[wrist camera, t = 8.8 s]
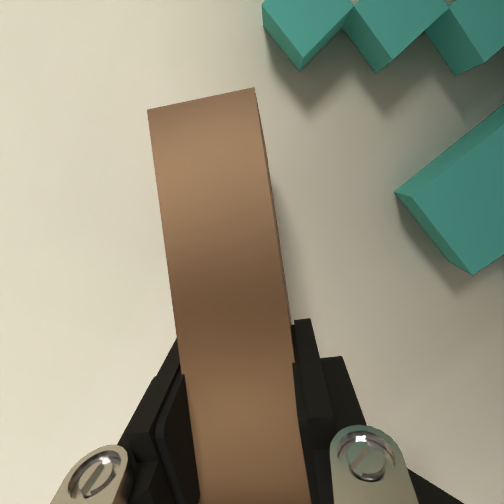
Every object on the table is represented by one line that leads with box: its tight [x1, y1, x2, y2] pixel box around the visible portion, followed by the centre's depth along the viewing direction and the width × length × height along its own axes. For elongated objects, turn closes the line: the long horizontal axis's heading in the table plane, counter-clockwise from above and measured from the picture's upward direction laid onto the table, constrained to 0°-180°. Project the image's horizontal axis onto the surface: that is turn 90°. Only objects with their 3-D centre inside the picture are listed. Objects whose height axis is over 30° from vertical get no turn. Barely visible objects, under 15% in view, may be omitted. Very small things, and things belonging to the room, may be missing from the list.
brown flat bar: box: [147, 87, 311, 504], centre depth 10 cm, size 16×3×4 cm, turn 10°
